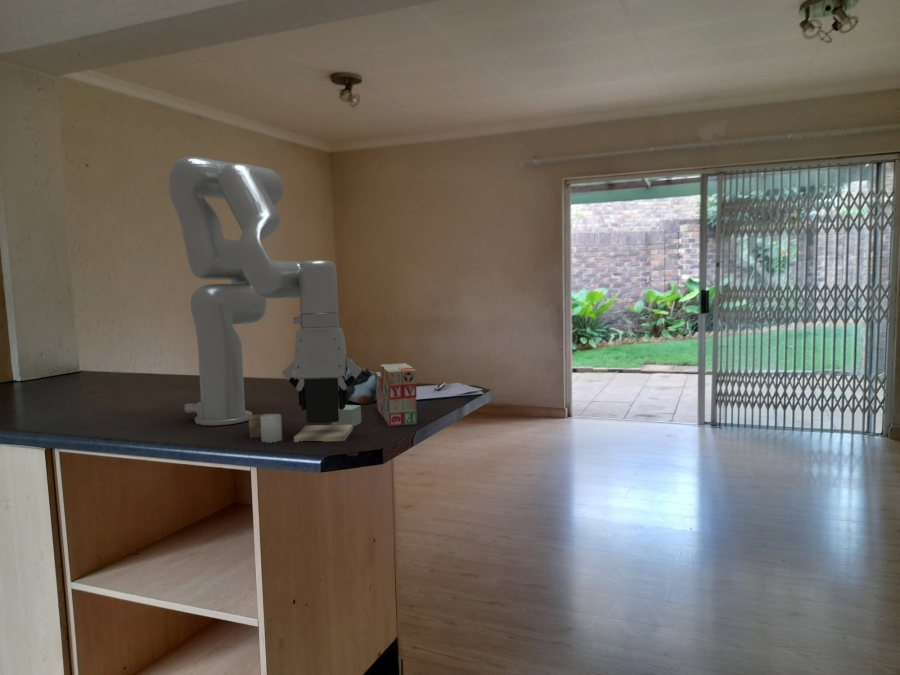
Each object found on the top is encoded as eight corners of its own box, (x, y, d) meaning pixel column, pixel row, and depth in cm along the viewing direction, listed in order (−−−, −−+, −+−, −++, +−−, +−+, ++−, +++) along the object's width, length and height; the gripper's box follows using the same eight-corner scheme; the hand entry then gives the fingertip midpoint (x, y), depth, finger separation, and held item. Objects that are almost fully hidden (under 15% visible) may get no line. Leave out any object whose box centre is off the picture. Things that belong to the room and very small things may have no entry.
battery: (343, 419, 128) (340, 364, 127) (339, 423, 124) (337, 367, 123) (309, 419, 128) (307, 365, 127) (305, 423, 124) (302, 367, 123)
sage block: (331, 427, 134) (330, 409, 134) (340, 422, 139) (340, 404, 139) (352, 428, 133) (351, 409, 133) (361, 422, 138) (360, 405, 138)
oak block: (249, 438, 126) (248, 419, 125) (249, 434, 129) (248, 415, 129) (270, 436, 127) (269, 417, 127) (269, 432, 131) (268, 413, 130)
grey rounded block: (258, 443, 121) (257, 418, 121) (264, 438, 125) (263, 413, 125) (279, 442, 121) (277, 417, 121) (284, 437, 125) (283, 413, 125)
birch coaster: (294, 442, 121) (293, 437, 121) (306, 430, 131) (305, 425, 131) (344, 440, 121) (344, 435, 121) (352, 429, 131) (352, 424, 131)
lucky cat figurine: (376, 405, 157) (348, 359, 153) (338, 421, 161) (310, 377, 157) (390, 379, 171) (365, 337, 167) (355, 395, 174) (329, 354, 171)
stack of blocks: (376, 408, 154) (374, 359, 153) (400, 407, 155) (399, 358, 154) (389, 427, 133) (387, 370, 132) (417, 424, 135) (416, 369, 134)
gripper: (271, 324, 121) (276, 413, 122) (360, 321, 120) (363, 411, 122) (282, 322, 128) (286, 406, 129) (365, 319, 128) (368, 404, 129)
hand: (323, 408), depth 126 cm, fingers closed on battery, 7 cm apart
